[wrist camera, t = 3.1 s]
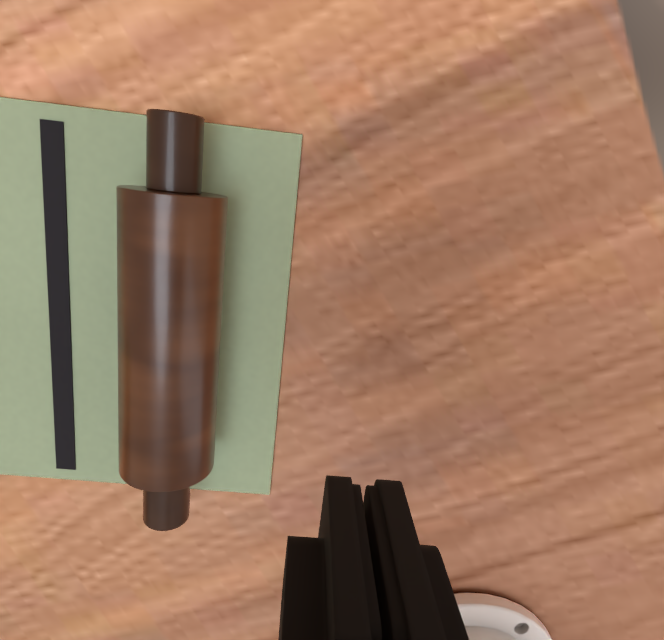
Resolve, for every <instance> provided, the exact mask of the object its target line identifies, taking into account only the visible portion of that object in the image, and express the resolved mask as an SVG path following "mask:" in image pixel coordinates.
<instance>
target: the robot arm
mask: <svg viewBox="0 0 664 640" xmlns="http://www.w3.org/2000/svg"><path fill="white" fill-rule="evenodd" d="M279 640H552V638H551V636H550V635H549V633H548V631H547V629H546V627H545V626H544V624H543V623H542V622H541V621H540V620H539V619H538V618H537V617H536V616H535V615H534V614H533V613H531V612H530V611H529V610H527V609H526V608H524V607H523V606H521V605H520V604H517V603H515V602H513V601H510V600H508V599H506V598H502V597H498V596H494V595H489V594H481V593H457V594H454V593H453V590H452V587H451V584H450V581H449V578H448V575H447V572H446V569H445V566H444V563H443V560H442V557H441V554H440V552H439V550H438V548H437V547H436V546H428V545H420V544H419V541H418V537H417V534H416V530H415V527H414V523H413V520H412V516H411V513H410V509H409V506H408V502H407V499H406V495H405V492H404V488H403V485H402V483H401V482H400V481H392V480H379V479H377V480H376V481H375V484H374V486H369V485H367V486H366V490H365V495H364V502H363V500H362V493H361V487H360V485H356V484H352V480H351V477H339V476H326V481H325V488H324V496H323V504H322V512H321V520H320V527H319V535H318V538H310V537H296V536H288V540H287V549H286V558H285V568H284V578H283V589H282V601H281V614H280V628H279Z"/></svg>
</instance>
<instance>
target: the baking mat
mask: <svg viewBox="0 0 664 640" xmlns="http://www.w3.org/2000/svg"><path fill="white" fill-rule="evenodd" d="M146 123H147V115H141V114H133V113H125V112H117V111H109V110H101V109H93V108H85V107H77V106H69V105H61V104H53V103H45V102H36V101H28V100H20V99H12V98H4V97H0V474H4V475H17V476H30V477H43V478H56V479H70V480H83V481H96V482H109V483H122V484H127V483H126V482H125V481H124V480H123V479H122V478H121V476H120V474H119V457H118V328H117V199H116V187H117V186H119V185H136V186H146ZM301 146H302V134H294V133H286V132H278V131H270V130H262V129H254V128H246V127H238V126H230V125H222V124H214V123H206V122H204V145H203V170H202V192H207V193H214V194H219V195H224V196H227V197H228V211H227V229H226V248H225V267H224V285H223V304H222V323H221V341H220V360H219V379H218V397H217V416H216V435H215V454H214V466H213V469H212V471H211V472H210V474H209V475H208V476H207V477H206V478H205V479H203V480H202V481H200V482H199V483H197V484H195V485H193V486H190V489H201V490H214V491H228V492H241V493H254V494H267V495H270V486H271V475H272V464H273V453H274V442H275V431H276V420H277V409H278V398H279V388H280V377H281V366H282V355H283V344H284V333H285V322H286V311H287V300H288V289H289V278H290V267H291V256H292V245H293V234H294V223H295V212H296V201H297V190H298V179H299V168H300V157H301Z"/></svg>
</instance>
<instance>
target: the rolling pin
mask: <svg viewBox="0 0 664 640" xmlns="http://www.w3.org/2000/svg"><path fill="white" fill-rule="evenodd" d="M203 145H204V118H203V117H201V116H197V115H193V114H188V113H182V112H176V111H169V110H160V109H148V110H147V123H146V186H136V185H119V186H117V187H116V199H117V328H118V457H119V474H120V476H121V478H122V479H123V480H124V481H125V482H126V483H127V484H129V485H130V486H132V487H134V488H137V489H140V490H143V520H144V523H145V524H146V526H148V527H149V528H151V529H153V530H157V531H167V530H172V529H175V528H178V527H179V526H181V525H183V524H184V523H185V522H186V520H187V519H188V517H189V505H190V486H193V485H195V484H197V483H199V482H200V481H202V480H203V479H205V478H206V477H207V476H208V475H209V474H210V472H211V471H212V469H213V466H214V454H215V435H216V416H217V397H218V379H219V360H220V341H221V323H222V304H223V285H224V267H225V248H226V229H227V211H228V197H227V196H224V195H219V194H214V193H207V192H202V170H203Z"/></svg>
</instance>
